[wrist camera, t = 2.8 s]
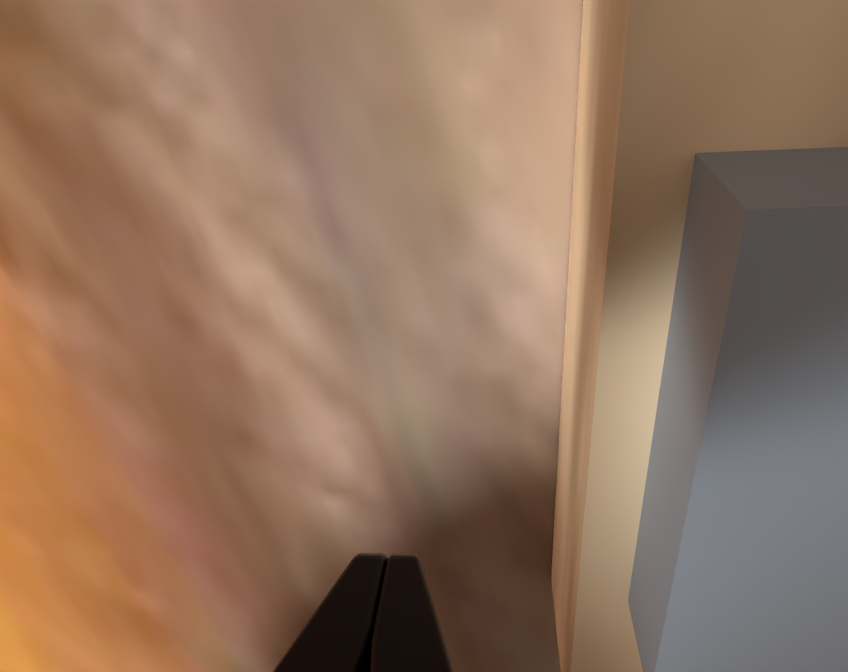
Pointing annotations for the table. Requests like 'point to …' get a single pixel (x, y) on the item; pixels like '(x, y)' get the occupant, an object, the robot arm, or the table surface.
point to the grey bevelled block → (752, 426)
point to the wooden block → (657, 249)
